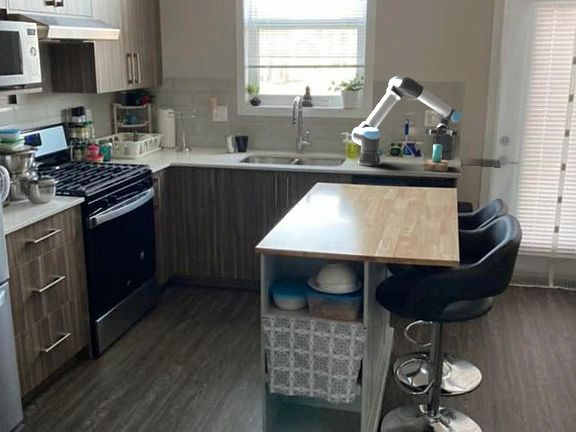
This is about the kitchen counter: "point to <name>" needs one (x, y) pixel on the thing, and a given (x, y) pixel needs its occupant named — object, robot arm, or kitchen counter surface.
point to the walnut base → (436, 165)
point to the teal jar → (437, 153)
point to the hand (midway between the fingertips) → (440, 133)
